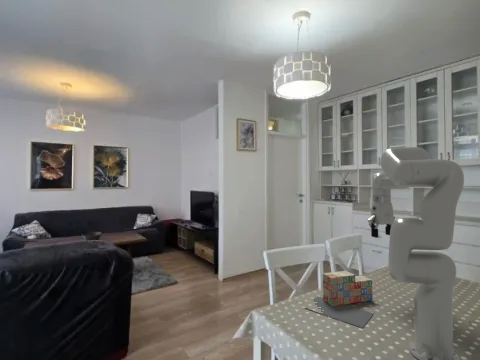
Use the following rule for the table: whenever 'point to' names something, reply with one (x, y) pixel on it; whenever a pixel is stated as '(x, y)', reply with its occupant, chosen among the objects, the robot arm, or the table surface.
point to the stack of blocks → (346, 288)
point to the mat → (344, 313)
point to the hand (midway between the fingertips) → (382, 236)
